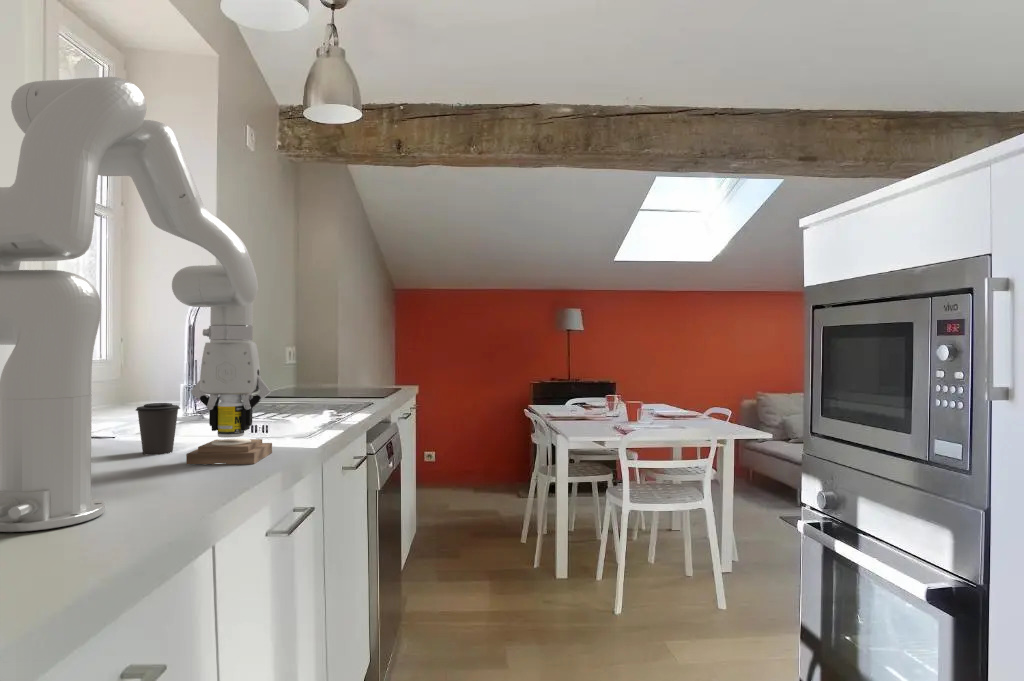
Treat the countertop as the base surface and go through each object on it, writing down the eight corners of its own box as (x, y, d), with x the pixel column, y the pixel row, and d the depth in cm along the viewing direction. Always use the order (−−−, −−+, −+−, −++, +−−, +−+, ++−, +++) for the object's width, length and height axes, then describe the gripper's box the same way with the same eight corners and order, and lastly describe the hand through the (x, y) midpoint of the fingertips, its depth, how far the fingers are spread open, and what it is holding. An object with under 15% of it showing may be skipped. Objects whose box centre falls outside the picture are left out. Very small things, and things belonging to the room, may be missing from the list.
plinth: (254, 463, 120) (254, 446, 120) (186, 464, 119) (186, 446, 119) (272, 452, 132) (272, 436, 132) (210, 453, 131) (210, 437, 131)
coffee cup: (166, 456, 127) (166, 405, 127) (125, 455, 128) (126, 405, 128) (188, 449, 135) (188, 401, 135) (149, 448, 136) (150, 401, 136)
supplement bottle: (237, 437, 123) (237, 393, 123) (212, 437, 123) (213, 393, 123) (248, 434, 127) (248, 391, 127) (224, 434, 127) (224, 391, 127)
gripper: (177, 334, 121) (176, 432, 120) (271, 335, 122) (270, 432, 122) (193, 335, 128) (192, 427, 128) (282, 335, 130) (281, 427, 129)
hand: (231, 428), depth 125 cm, fingers closed on supplement bottle, 4 cm apart
